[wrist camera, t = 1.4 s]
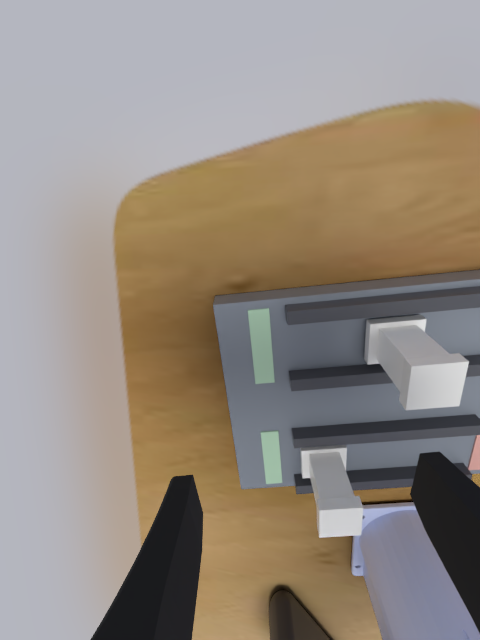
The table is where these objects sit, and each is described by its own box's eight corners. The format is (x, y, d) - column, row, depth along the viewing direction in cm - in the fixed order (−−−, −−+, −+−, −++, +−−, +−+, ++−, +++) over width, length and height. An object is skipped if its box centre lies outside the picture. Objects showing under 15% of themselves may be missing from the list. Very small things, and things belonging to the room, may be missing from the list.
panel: (474, 456, 25) (498, 484, 22) (241, 472, 26) (241, 501, 23) (525, 265, 18) (565, 277, 16) (215, 295, 19) (211, 312, 17)
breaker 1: (343, 468, 23) (366, 536, 19) (301, 471, 23) (314, 539, 19) (344, 441, 22) (369, 505, 18) (300, 444, 22) (313, 509, 18)
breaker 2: (415, 354, 19) (465, 407, 15) (364, 359, 19) (399, 412, 15) (421, 314, 18) (476, 358, 14) (366, 319, 18) (404, 364, 14)
